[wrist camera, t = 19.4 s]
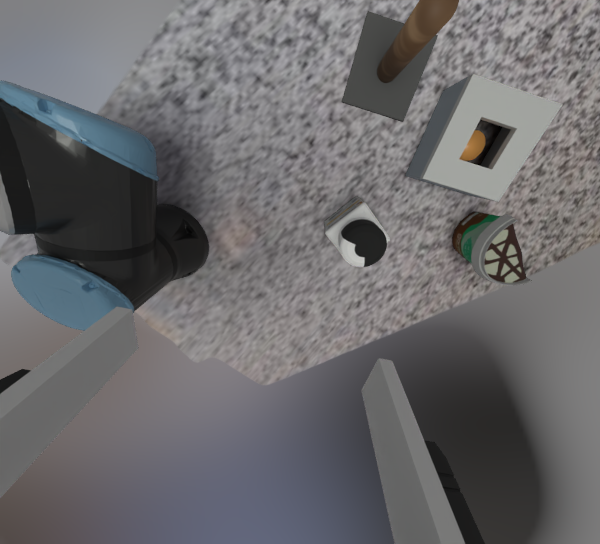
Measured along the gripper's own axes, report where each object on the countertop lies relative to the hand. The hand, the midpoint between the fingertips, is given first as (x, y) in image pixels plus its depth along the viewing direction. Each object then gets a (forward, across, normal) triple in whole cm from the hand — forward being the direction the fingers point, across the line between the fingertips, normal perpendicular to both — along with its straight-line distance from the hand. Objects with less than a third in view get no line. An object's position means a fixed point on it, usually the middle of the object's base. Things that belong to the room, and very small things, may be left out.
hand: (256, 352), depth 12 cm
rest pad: (+34, +9, +23) cm, 42 cm away
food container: (+34, +32, +2) cm, 47 cm away
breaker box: (+34, +23, +16) cm, 44 cm away
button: (+33, +23, +16) cm, 44 cm away
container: (+34, +11, 0) cm, 36 cm away
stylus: (+34, +9, +23) cm, 42 cm away
